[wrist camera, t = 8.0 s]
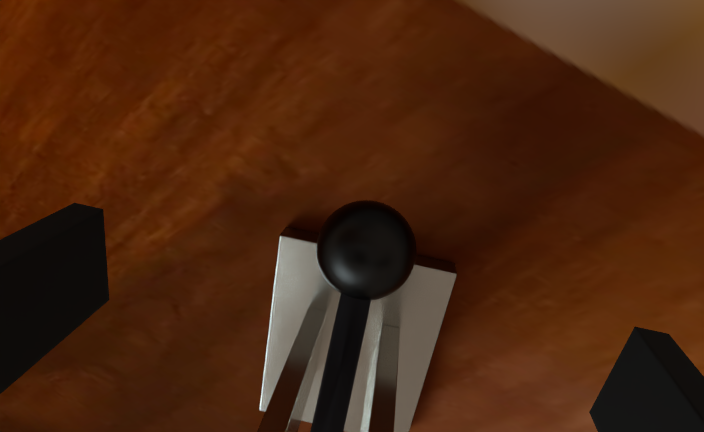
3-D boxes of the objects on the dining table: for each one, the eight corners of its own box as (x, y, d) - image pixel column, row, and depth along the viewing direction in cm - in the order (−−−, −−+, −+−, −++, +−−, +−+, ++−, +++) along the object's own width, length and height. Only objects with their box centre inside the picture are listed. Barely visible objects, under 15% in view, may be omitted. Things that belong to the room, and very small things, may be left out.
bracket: (285, 225, 23) (148, 419, 11) (455, 262, 23) (495, 507, 11) (265, 395, 28) (153, 657, 16) (405, 429, 27) (394, 727, 16)
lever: (332, 198, 18) (323, 183, 14) (419, 216, 18) (432, 206, 14) (258, 531, 17) (227, 605, 13) (349, 556, 17) (343, 637, 13)
